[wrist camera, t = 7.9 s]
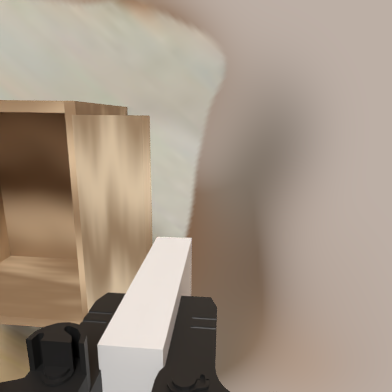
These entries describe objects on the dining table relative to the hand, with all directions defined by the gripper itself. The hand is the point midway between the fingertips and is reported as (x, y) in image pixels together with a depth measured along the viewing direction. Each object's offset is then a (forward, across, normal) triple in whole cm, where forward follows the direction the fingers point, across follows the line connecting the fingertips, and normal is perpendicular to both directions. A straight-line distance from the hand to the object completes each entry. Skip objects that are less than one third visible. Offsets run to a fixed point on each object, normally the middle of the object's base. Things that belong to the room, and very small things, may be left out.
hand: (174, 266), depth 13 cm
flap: (+4, +6, 0) cm, 7 cm away
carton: (+13, +12, 0) cm, 18 cm away
